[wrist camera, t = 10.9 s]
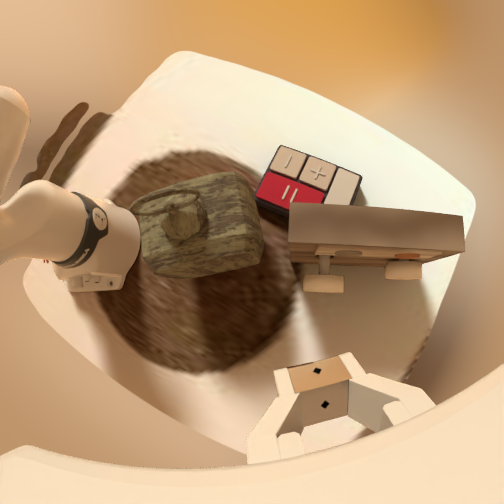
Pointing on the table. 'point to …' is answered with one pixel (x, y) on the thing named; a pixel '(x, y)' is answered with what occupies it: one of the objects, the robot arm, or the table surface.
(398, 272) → the button
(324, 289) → the button
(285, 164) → the calculator
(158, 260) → the tabletop clock
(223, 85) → the table surface
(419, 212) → the button panel
